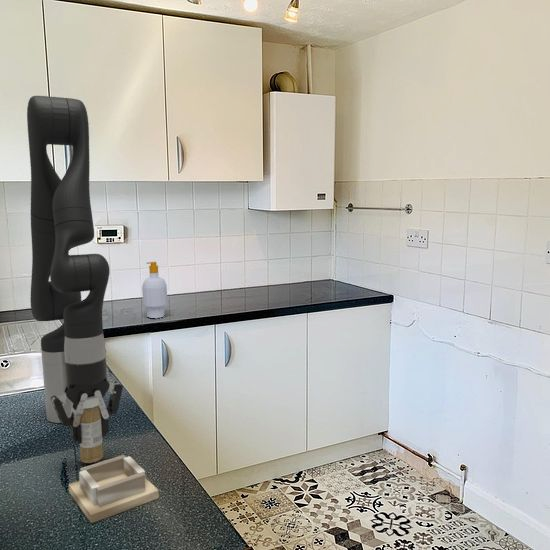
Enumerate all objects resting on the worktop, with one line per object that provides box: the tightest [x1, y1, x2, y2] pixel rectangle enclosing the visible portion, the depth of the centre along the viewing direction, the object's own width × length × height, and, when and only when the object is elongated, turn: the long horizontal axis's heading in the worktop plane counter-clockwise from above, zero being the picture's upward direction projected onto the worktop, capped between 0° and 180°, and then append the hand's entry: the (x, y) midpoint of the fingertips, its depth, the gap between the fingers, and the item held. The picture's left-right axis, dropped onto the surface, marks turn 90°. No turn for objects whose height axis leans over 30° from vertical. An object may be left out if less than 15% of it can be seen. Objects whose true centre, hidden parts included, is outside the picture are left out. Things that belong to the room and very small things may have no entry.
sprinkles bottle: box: [78, 396, 104, 464], centre depth 108 cm, size 5×5×13 cm
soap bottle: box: [141, 261, 168, 318], centre depth 232 cm, size 10×10×24 cm
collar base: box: [67, 454, 160, 524], centre depth 97 cm, size 12×12×4 cm
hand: (90, 438), depth 108 cm, fingers closed on sprinkles bottle, 4 cm apart
